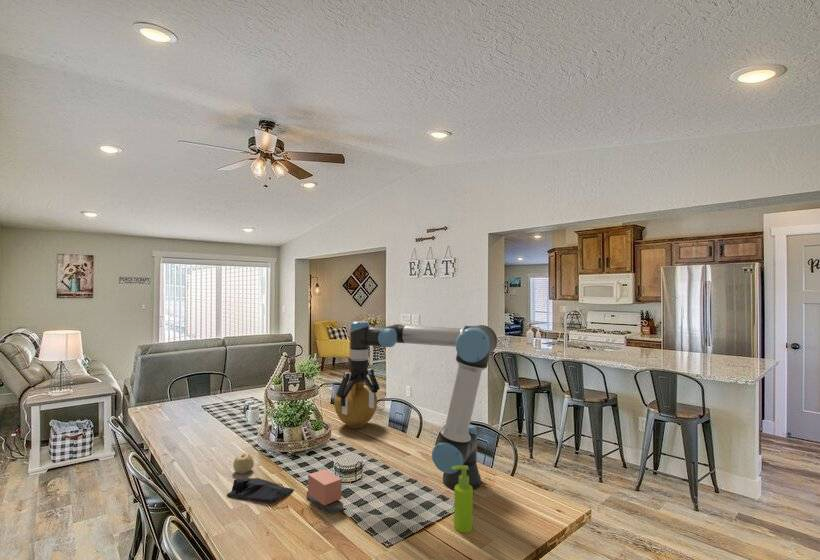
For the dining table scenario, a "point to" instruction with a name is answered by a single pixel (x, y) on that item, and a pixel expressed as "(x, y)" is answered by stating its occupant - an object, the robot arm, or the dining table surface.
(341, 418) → the vase
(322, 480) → the pink toy cube
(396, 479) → the dining table surface
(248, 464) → the apple
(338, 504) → the rail
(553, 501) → the dining table surface
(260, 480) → the black crumpled cloth
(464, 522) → the soap dispenser
